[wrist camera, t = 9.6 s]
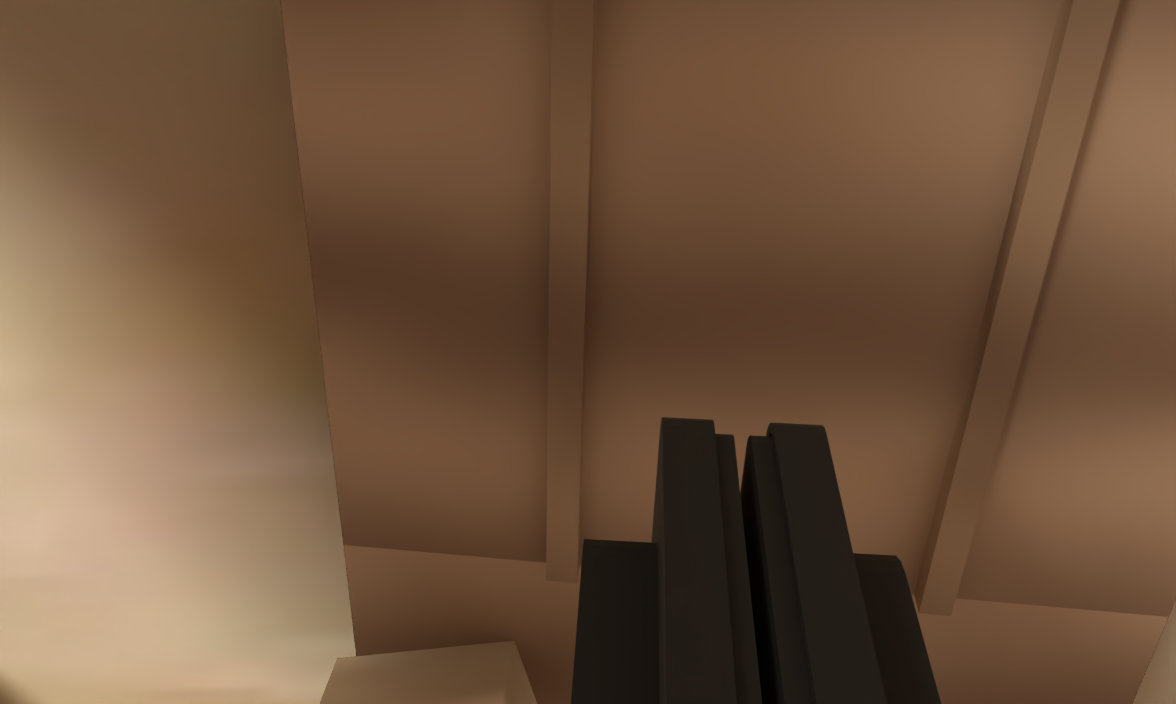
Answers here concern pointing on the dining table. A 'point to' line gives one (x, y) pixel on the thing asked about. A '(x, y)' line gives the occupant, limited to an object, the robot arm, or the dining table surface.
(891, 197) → the brown wooden divided tray
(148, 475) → the dining table surface
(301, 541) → the dining table surface
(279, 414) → the dining table surface
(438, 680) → the beech cube
